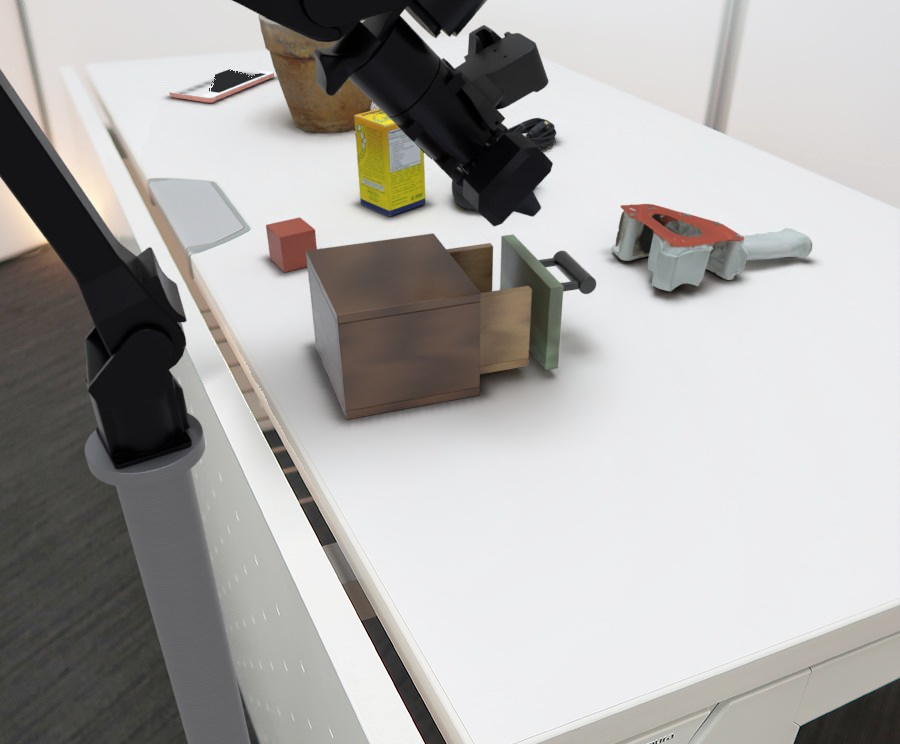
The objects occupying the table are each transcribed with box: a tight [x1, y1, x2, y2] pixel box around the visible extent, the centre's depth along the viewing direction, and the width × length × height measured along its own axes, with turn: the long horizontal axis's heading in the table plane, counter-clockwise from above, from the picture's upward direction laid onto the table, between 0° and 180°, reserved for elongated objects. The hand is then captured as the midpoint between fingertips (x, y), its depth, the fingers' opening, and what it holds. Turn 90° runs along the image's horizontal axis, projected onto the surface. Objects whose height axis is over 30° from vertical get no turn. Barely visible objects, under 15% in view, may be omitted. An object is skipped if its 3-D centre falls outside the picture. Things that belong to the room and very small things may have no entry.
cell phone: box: [169, 68, 275, 103], centre depth 158 cm, size 9×18×1 cm, turn 154°
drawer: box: [446, 233, 597, 375], centre depth 82 cm, size 15×11×8 cm
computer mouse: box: [451, 117, 557, 212], centre depth 122 cm, size 10×32×6 cm, turn 163°
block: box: [265, 216, 318, 273], centre depth 99 cm, size 4×4×4 cm
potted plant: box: [257, 14, 373, 134], centre depth 134 cm, size 18×19×25 cm
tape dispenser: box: [611, 203, 813, 292], centre depth 97 cm, size 18×5×20 cm
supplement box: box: [354, 108, 426, 217], centre depth 111 cm, size 6×6×11 cm
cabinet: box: [306, 232, 481, 420], centre depth 79 cm, size 12×13×10 cm
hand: (535, 211), depth 79 cm, fingers closed
